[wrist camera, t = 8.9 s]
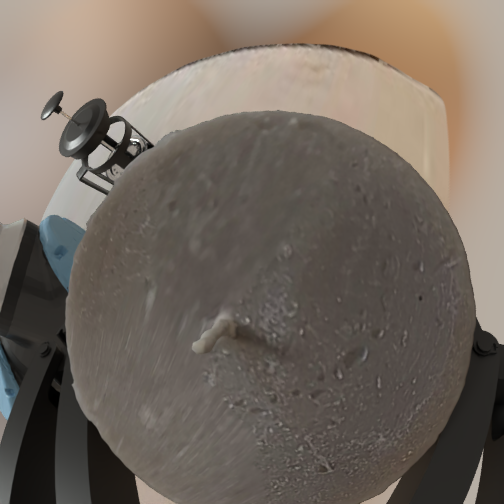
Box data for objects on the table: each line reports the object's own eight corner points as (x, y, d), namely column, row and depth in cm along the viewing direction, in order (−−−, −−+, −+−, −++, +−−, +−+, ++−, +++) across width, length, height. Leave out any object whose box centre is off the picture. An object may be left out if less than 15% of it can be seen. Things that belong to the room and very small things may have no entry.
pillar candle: (399, 327, 16) (578, 344, 2) (281, 415, 16) (174, 581, 2) (309, 217, 19) (256, 17, 5) (201, 304, 20) (-2, 268, 6)
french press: (154, 139, 46) (71, 63, 24) (183, 163, 43) (89, 75, 21) (113, 189, 46) (17, 134, 24) (136, 218, 43) (23, 162, 21)
